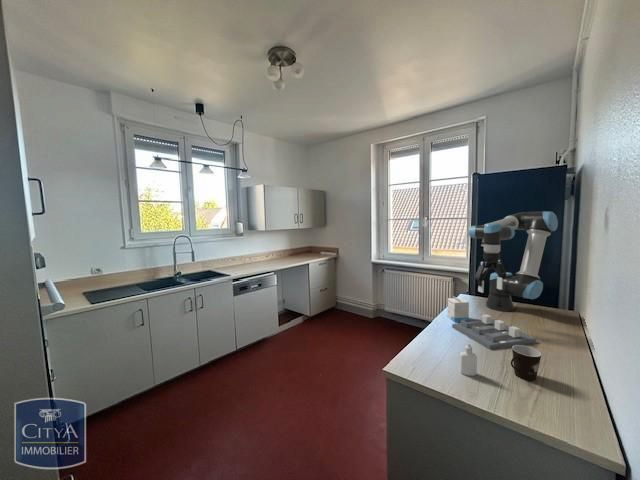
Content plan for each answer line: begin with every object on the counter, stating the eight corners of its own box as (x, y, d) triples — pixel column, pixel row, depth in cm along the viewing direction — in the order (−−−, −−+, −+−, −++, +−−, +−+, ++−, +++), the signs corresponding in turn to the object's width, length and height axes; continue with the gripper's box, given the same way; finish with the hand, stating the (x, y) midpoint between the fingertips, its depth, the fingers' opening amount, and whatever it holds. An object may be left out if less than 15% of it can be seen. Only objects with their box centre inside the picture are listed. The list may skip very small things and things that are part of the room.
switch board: (492, 322, 146) (492, 315, 146) (535, 342, 123) (536, 333, 123) (452, 327, 141) (452, 319, 141) (489, 349, 118) (489, 340, 117)
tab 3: (513, 334, 127) (514, 326, 126) (519, 336, 124) (519, 328, 124) (508, 334, 126) (509, 326, 126) (514, 337, 123) (514, 329, 123)
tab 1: (486, 321, 142) (486, 314, 142) (491, 323, 139) (491, 316, 139) (481, 322, 142) (482, 314, 141) (486, 324, 139) (486, 317, 138)
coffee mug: (529, 369, 102) (530, 345, 101) (546, 383, 93) (547, 357, 92) (497, 368, 103) (498, 344, 102) (511, 382, 94) (512, 356, 94)
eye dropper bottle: (461, 368, 104) (462, 339, 103) (477, 373, 100) (478, 343, 99) (458, 373, 100) (459, 343, 99) (474, 378, 97) (475, 348, 96)
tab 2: (499, 327, 135) (499, 320, 134) (504, 329, 132) (504, 322, 131) (494, 328, 134) (494, 320, 134) (499, 330, 131) (499, 322, 131)
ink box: (468, 322, 148) (469, 299, 147) (454, 322, 148) (454, 299, 147) (461, 316, 156) (461, 294, 155) (447, 316, 156) (447, 295, 155)
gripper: (501, 249, 147) (500, 286, 149) (467, 252, 139) (466, 291, 141) (515, 251, 140) (513, 289, 142) (480, 254, 132) (478, 295, 134)
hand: (490, 290), depth 141 cm, fingers open, 13 cm apart
